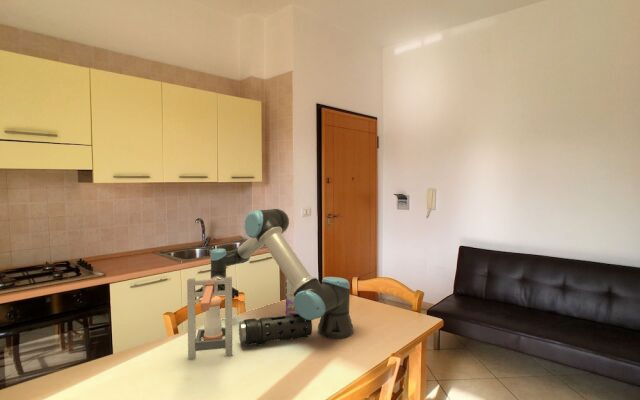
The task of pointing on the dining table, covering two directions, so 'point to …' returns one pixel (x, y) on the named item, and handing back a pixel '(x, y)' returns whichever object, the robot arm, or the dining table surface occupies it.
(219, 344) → the grey shallow square frame
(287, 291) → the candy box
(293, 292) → the robot arm
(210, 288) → the bar
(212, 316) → the pepper shaker
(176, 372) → the dining table surface
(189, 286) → the frame
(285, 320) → the muzzle brake
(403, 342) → the dining table surface
